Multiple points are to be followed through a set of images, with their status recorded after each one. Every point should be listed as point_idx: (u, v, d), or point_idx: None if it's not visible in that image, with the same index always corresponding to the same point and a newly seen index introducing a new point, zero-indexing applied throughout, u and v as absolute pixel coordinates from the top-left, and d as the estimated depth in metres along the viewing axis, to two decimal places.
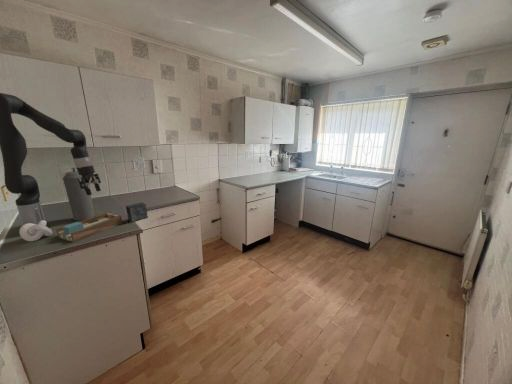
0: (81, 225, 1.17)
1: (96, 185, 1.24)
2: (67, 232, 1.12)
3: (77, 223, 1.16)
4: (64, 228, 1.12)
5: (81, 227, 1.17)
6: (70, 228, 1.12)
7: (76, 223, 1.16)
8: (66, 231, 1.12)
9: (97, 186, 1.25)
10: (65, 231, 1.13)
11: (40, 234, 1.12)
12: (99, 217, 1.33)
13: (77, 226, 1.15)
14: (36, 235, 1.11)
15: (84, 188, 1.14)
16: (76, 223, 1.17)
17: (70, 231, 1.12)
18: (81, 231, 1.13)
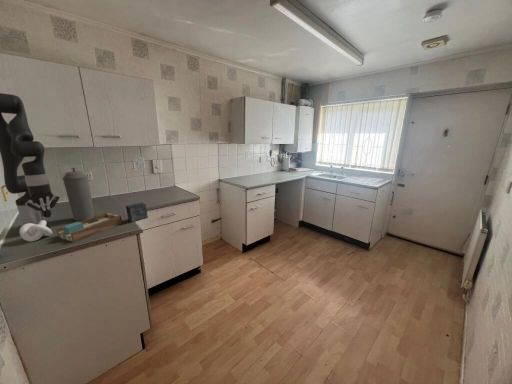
0: (81, 225, 1.17)
1: None
2: (67, 232, 1.12)
3: (77, 223, 1.16)
4: (64, 228, 1.12)
5: (81, 227, 1.17)
6: (70, 228, 1.12)
7: (76, 223, 1.16)
8: (66, 231, 1.12)
9: None
10: (65, 231, 1.13)
11: (40, 234, 1.12)
12: (99, 217, 1.33)
13: (77, 226, 1.15)
14: (36, 235, 1.11)
15: (39, 210, 1.01)
16: (76, 223, 1.17)
17: (70, 231, 1.12)
18: (81, 231, 1.13)
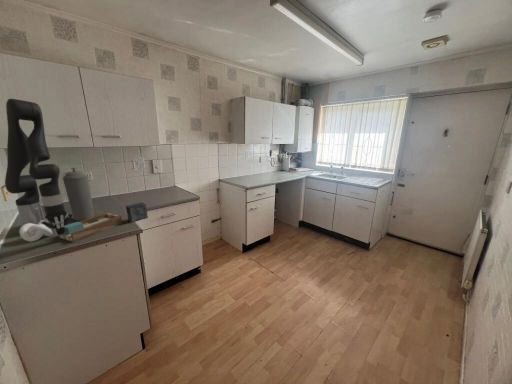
0: (81, 225, 1.17)
1: None
2: (67, 232, 1.12)
3: (77, 223, 1.16)
4: (64, 228, 1.12)
5: (81, 227, 1.17)
6: (70, 228, 1.12)
7: (76, 223, 1.16)
8: (66, 231, 1.12)
9: None
10: (65, 231, 1.13)
11: (40, 234, 1.12)
12: (99, 217, 1.33)
13: (77, 226, 1.15)
14: (36, 235, 1.11)
15: None
16: (76, 223, 1.17)
17: (70, 231, 1.12)
18: (81, 231, 1.13)
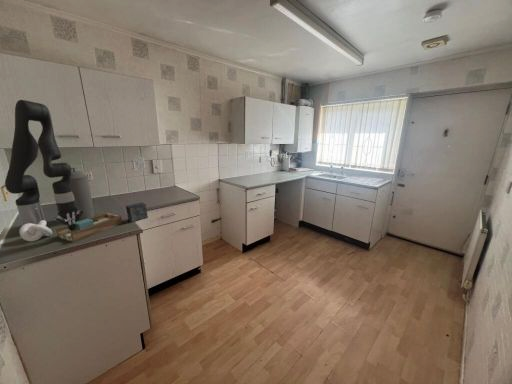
0: (91, 222, 1.21)
1: None
2: (78, 228, 1.17)
3: (87, 220, 1.21)
4: (75, 224, 1.17)
5: (91, 224, 1.21)
6: (81, 225, 1.16)
7: (86, 220, 1.21)
8: (77, 227, 1.17)
9: None
10: (76, 227, 1.17)
11: (40, 234, 1.12)
12: (99, 217, 1.33)
13: (87, 223, 1.19)
14: (36, 235, 1.11)
15: (65, 224, 1.12)
16: (86, 220, 1.21)
17: (81, 227, 1.17)
18: (81, 231, 1.13)
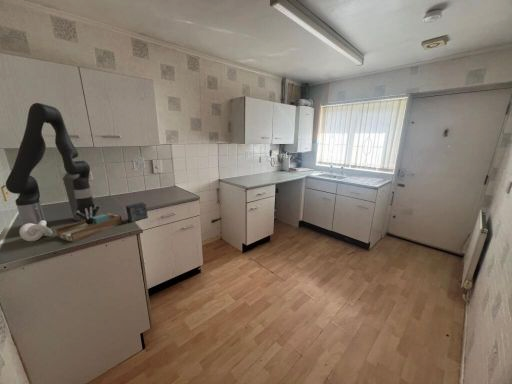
0: (107, 217, 1.29)
1: None
2: (95, 223, 1.24)
3: (103, 215, 1.29)
4: (92, 219, 1.25)
5: (107, 219, 1.29)
6: (97, 219, 1.24)
7: (103, 215, 1.29)
8: (94, 222, 1.25)
9: None
10: (93, 222, 1.25)
11: (40, 234, 1.12)
12: None
13: (103, 218, 1.27)
14: (36, 235, 1.11)
15: (83, 218, 1.20)
16: (103, 215, 1.29)
17: (98, 221, 1.24)
18: (81, 231, 1.13)
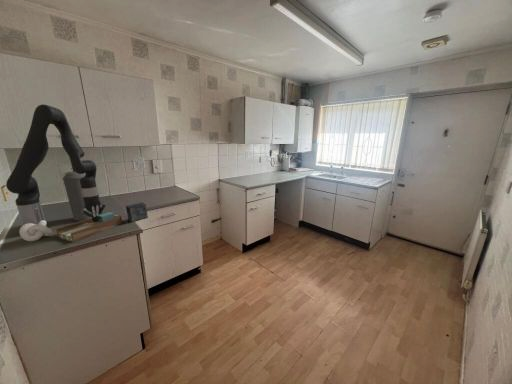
0: (113, 215, 1.32)
1: None
2: (101, 220, 1.28)
3: (109, 213, 1.32)
4: (99, 217, 1.28)
5: (113, 217, 1.32)
6: (103, 217, 1.27)
7: (108, 213, 1.32)
8: (100, 220, 1.28)
9: None
10: (99, 220, 1.28)
11: (40, 234, 1.12)
12: None
13: (109, 216, 1.30)
14: (36, 235, 1.11)
15: (90, 216, 1.23)
16: (108, 213, 1.32)
17: (104, 219, 1.27)
18: (81, 231, 1.13)
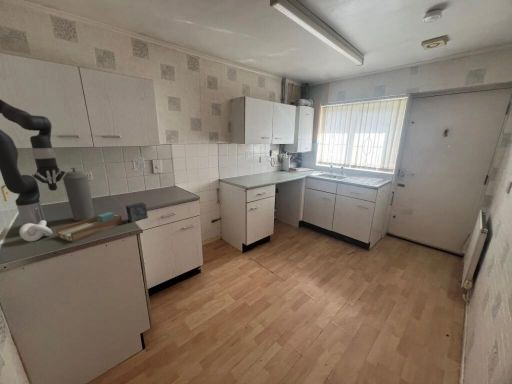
0: (113, 215, 1.32)
1: None
2: (101, 220, 1.28)
3: (109, 213, 1.32)
4: (99, 217, 1.28)
5: (113, 217, 1.32)
6: (103, 217, 1.27)
7: (108, 213, 1.32)
8: (100, 220, 1.28)
9: None
10: (99, 220, 1.28)
11: (40, 234, 1.12)
12: None
13: (109, 216, 1.30)
14: (36, 235, 1.11)
15: None
16: (108, 213, 1.32)
17: (104, 219, 1.27)
18: (81, 231, 1.13)
